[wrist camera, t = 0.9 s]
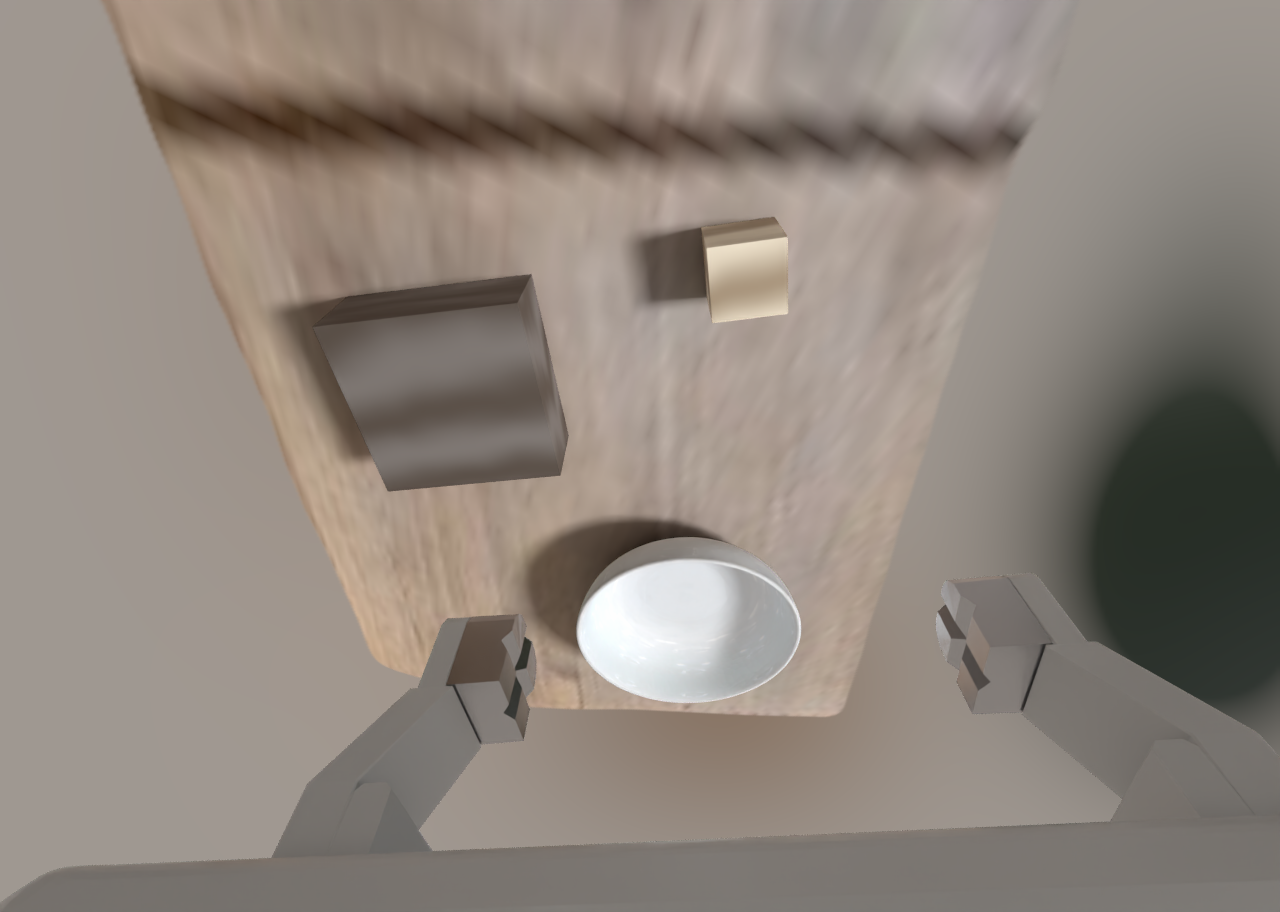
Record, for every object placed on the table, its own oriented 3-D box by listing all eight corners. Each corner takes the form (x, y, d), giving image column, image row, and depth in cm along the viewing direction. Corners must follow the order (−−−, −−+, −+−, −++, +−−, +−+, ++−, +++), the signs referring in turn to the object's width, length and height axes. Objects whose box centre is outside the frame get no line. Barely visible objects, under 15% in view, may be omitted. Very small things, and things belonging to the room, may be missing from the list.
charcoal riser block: (349, 295, 45) (312, 327, 40) (532, 272, 44) (517, 303, 39) (412, 449, 53) (388, 491, 48) (569, 433, 52) (560, 475, 47)
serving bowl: (568, 512, 57) (559, 565, 51) (794, 501, 56) (810, 554, 50) (595, 653, 69) (589, 708, 63) (781, 646, 68) (793, 702, 62)
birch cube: (701, 226, 42) (706, 248, 38) (774, 216, 41) (787, 236, 37) (706, 296, 45) (712, 323, 41) (775, 287, 44) (787, 313, 40)
